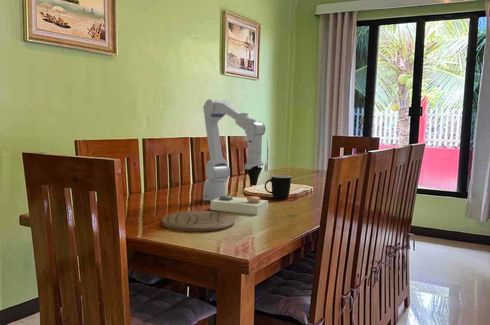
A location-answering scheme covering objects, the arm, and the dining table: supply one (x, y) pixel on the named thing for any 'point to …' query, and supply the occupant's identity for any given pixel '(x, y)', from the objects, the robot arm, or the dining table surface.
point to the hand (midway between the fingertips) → (253, 185)
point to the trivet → (198, 221)
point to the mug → (280, 186)
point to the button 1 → (226, 197)
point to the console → (239, 206)
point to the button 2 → (253, 199)
